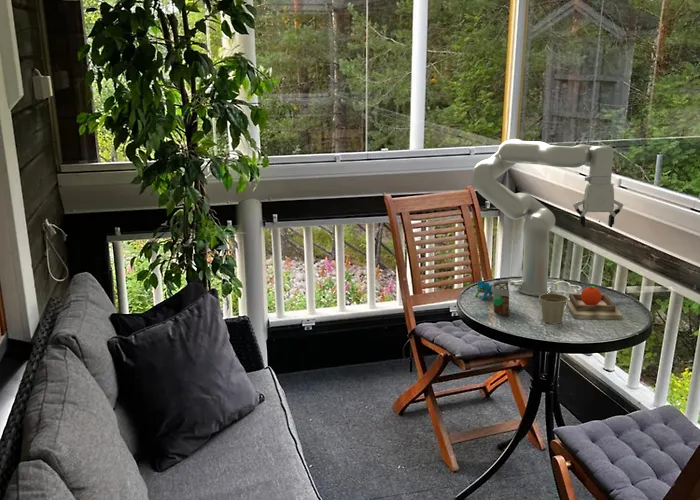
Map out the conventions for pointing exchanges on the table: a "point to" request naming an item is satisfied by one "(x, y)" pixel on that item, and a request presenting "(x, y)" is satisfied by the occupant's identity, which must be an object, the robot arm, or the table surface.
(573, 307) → the board
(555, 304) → the flower pot
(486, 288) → the toy dinosaur
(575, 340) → the table surface
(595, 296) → the clementine
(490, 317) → the table surface
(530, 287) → the robot arm
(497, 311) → the food container
